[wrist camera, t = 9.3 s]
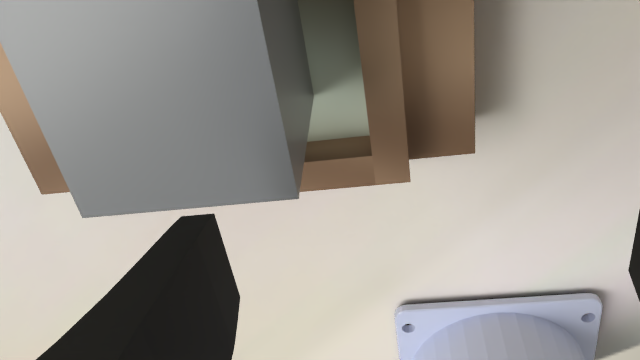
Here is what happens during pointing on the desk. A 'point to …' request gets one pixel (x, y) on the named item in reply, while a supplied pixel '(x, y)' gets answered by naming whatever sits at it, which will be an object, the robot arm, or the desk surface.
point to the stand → (346, 92)
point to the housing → (165, 98)
